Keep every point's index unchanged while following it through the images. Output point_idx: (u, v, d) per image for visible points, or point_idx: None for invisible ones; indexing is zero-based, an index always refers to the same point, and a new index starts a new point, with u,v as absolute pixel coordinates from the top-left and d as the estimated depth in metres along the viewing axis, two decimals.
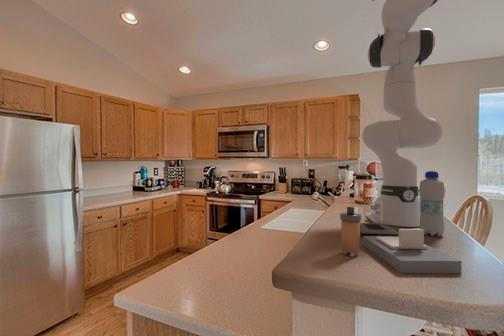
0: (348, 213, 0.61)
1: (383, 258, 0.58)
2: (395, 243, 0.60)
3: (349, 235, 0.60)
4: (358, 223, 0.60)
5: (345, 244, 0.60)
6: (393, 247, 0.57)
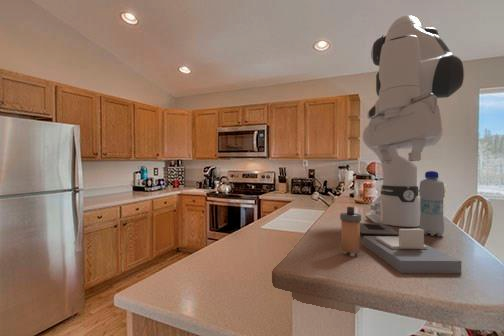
0: (348, 213, 0.61)
1: (383, 258, 0.58)
2: (395, 243, 0.60)
3: (349, 235, 0.60)
4: (358, 223, 0.60)
5: (345, 244, 0.60)
6: (393, 247, 0.57)
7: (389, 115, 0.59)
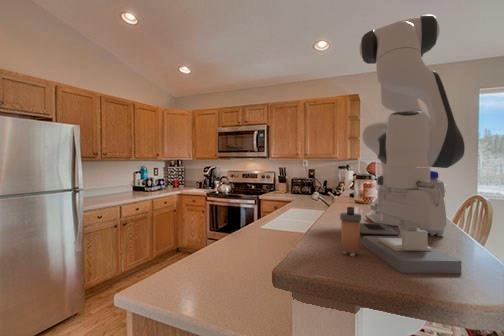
0: (348, 213, 0.61)
1: (383, 258, 0.58)
2: (398, 245, 0.58)
3: (349, 235, 0.60)
4: (358, 223, 0.60)
5: (345, 244, 0.60)
6: (396, 249, 0.56)
7: (395, 193, 0.58)
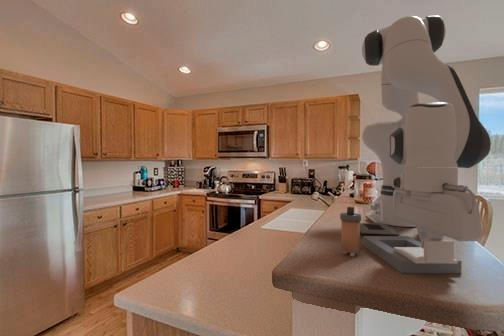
0: (348, 213, 0.61)
1: (383, 258, 0.58)
2: (418, 256, 0.51)
3: (349, 235, 0.60)
4: (358, 223, 0.60)
5: (345, 244, 0.60)
6: (417, 261, 0.49)
7: (416, 197, 0.50)
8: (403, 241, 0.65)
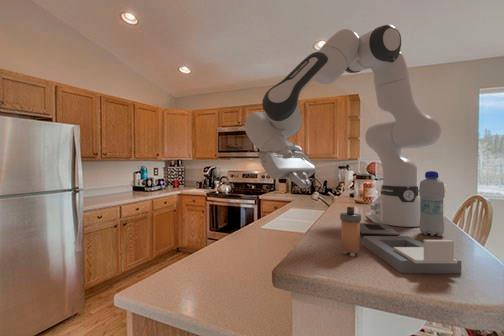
0: (348, 213, 0.61)
1: (383, 258, 0.58)
2: (418, 256, 0.51)
3: (349, 235, 0.60)
4: (358, 223, 0.60)
5: (345, 244, 0.60)
6: (417, 261, 0.49)
7: None
8: (403, 241, 0.65)
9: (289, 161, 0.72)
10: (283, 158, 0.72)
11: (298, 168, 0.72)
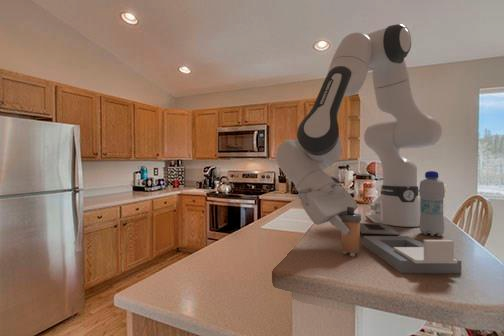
0: (348, 213, 0.61)
1: (383, 258, 0.58)
2: (418, 256, 0.51)
3: (349, 235, 0.60)
4: (358, 223, 0.60)
5: (345, 244, 0.60)
6: (417, 261, 0.49)
7: None
8: (403, 241, 0.65)
9: (332, 200, 0.63)
10: (325, 197, 0.63)
11: (342, 209, 0.63)
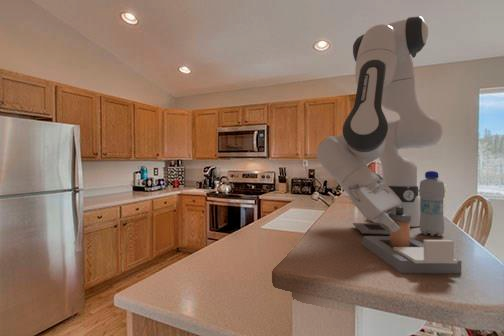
0: (398, 213, 0.61)
1: (383, 258, 0.58)
2: (418, 256, 0.51)
3: (400, 235, 0.60)
4: (409, 223, 0.60)
5: (396, 244, 0.60)
6: (417, 261, 0.49)
7: None
8: None
9: (380, 197, 0.63)
10: (373, 193, 0.63)
11: (391, 205, 0.63)
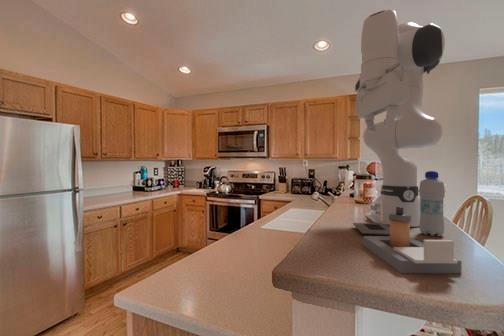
0: (398, 213, 0.61)
1: (383, 258, 0.58)
2: (418, 256, 0.51)
3: (400, 235, 0.60)
4: (409, 223, 0.60)
5: (396, 244, 0.60)
6: (417, 261, 0.49)
7: (368, 86, 0.65)
8: None
9: None
10: None
11: None
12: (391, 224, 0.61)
